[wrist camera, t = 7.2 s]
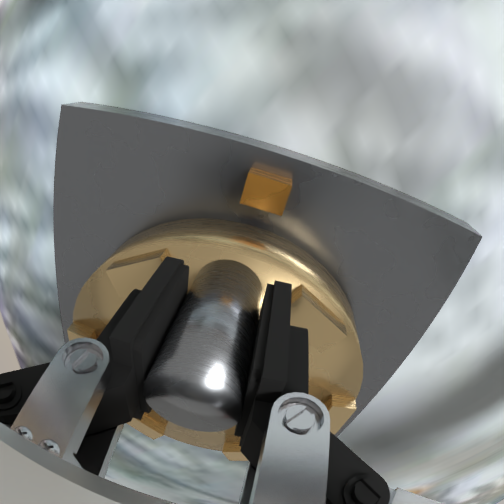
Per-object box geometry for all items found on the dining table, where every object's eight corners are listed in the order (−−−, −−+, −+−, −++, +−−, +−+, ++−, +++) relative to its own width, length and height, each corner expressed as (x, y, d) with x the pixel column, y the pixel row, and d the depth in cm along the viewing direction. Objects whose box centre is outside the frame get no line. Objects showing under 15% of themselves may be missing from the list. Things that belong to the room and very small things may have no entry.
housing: (466, 222, 13) (492, 245, 11) (316, 439, 23) (316, 466, 20) (82, 101, 13) (47, 106, 10) (82, 368, 22) (67, 390, 20)
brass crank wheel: (301, 436, 19) (295, 533, 13) (105, 382, 19) (60, 467, 13) (404, 268, 13) (470, 408, 6) (93, 186, 13) (-34, 269, 6)
